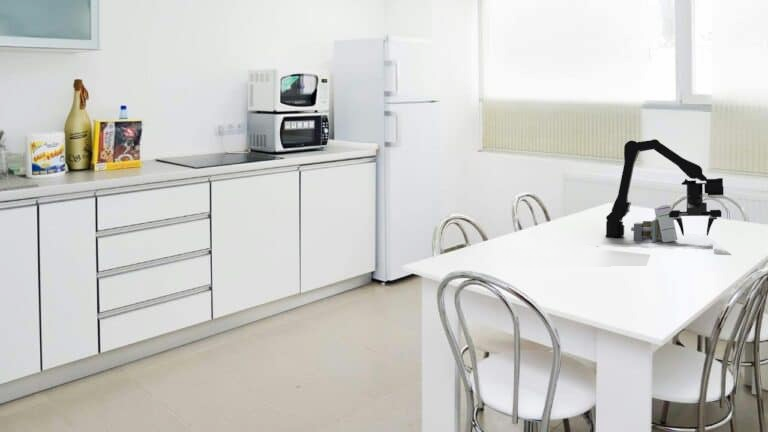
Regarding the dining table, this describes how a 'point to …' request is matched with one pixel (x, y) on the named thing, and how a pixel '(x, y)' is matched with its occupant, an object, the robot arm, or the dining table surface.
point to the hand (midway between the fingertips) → (695, 235)
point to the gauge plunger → (650, 229)
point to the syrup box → (665, 223)
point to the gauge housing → (640, 234)
